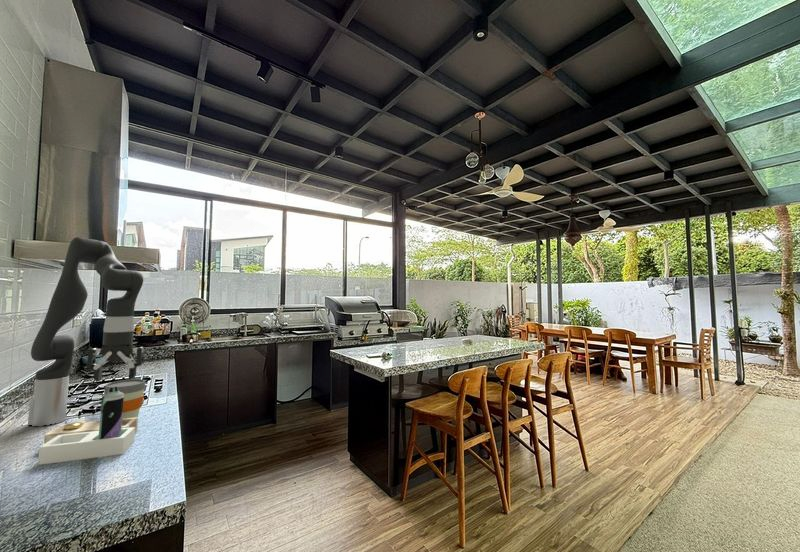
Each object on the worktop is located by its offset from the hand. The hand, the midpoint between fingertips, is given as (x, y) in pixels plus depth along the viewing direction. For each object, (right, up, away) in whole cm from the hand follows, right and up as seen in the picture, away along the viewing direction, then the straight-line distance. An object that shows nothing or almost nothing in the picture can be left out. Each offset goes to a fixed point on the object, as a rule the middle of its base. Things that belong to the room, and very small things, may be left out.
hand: (114, 380), depth 106 cm
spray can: (-1, -22, -2) cm, 22 cm away
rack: (-5, -22, -3) cm, 23 cm away
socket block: (-12, -22, +5) cm, 26 cm away
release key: (-17, -22, +3) cm, 28 cm away
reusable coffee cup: (-16, -24, +22) cm, 36 cm away
